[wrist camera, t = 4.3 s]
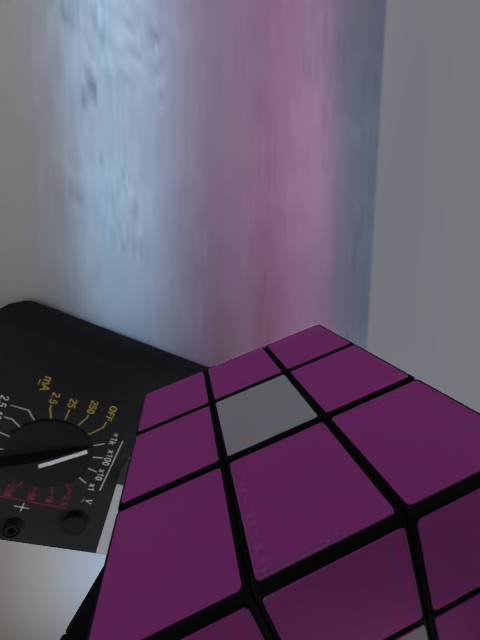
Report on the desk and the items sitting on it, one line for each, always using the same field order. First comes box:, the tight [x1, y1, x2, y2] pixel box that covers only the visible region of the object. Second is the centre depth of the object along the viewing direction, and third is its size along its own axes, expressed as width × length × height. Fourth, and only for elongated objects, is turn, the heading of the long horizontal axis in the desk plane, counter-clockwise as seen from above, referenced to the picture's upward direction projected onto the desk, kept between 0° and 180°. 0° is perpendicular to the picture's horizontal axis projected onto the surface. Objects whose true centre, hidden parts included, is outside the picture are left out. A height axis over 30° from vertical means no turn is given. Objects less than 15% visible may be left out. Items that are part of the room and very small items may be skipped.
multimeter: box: [0, 301, 209, 555], centre depth 18 cm, size 13×19×5 cm
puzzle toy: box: [86, 325, 480, 640], centre depth 7 cm, size 6×6×6 cm
